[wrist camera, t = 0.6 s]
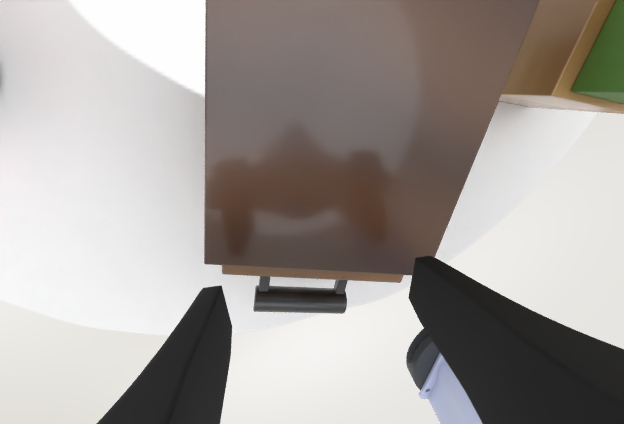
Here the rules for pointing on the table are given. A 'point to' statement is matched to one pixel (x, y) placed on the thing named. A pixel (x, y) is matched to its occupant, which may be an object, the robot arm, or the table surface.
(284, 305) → the drawer
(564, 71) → the wooden block
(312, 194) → the cabinet
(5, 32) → the table surface
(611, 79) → the matte green cuboid
